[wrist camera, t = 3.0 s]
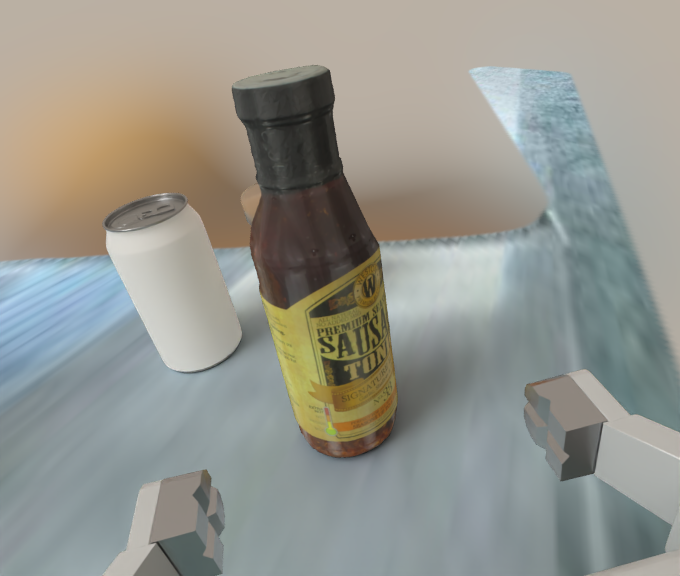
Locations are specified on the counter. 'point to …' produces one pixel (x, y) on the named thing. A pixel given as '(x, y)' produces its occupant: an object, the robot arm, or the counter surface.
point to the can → (174, 280)
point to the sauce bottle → (317, 265)
